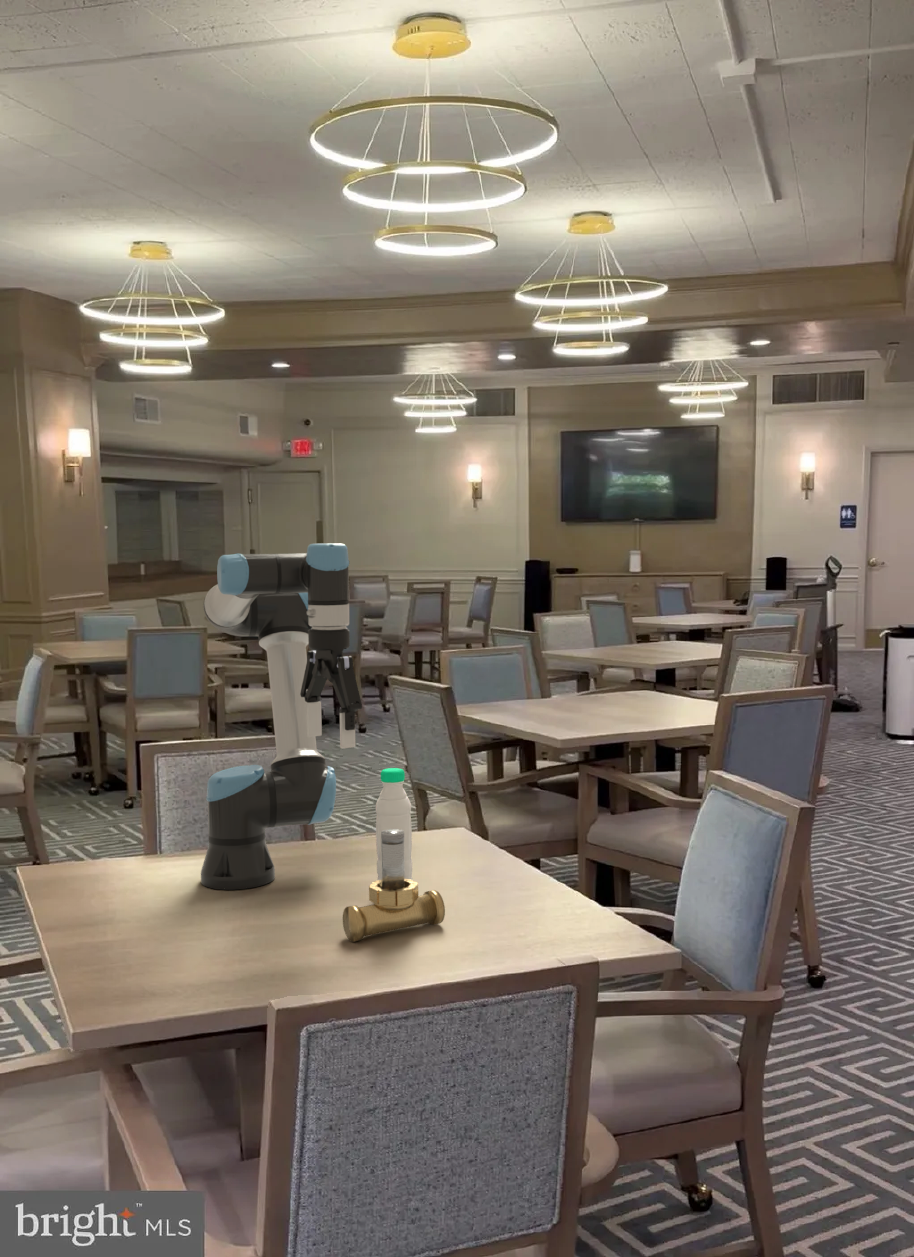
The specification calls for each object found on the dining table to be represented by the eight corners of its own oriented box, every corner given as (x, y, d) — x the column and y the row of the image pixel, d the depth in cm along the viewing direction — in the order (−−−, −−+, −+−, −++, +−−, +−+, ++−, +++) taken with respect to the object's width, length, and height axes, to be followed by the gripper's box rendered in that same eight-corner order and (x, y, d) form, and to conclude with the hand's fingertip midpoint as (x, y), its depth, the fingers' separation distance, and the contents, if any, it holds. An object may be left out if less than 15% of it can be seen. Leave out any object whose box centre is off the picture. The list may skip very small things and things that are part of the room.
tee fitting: (361, 947, 194) (360, 898, 193) (340, 934, 201) (339, 887, 200) (448, 929, 203) (447, 882, 202) (425, 917, 210) (424, 871, 209)
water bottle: (408, 900, 220) (405, 773, 219) (373, 899, 222) (370, 772, 220) (416, 890, 227) (414, 766, 226) (382, 888, 229) (379, 765, 227)
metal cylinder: (377, 897, 202) (376, 831, 201) (398, 894, 204) (397, 828, 204) (389, 903, 199) (388, 835, 198) (409, 899, 201) (408, 832, 200)
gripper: (281, 623, 217) (283, 733, 219) (341, 633, 196) (343, 755, 198) (317, 621, 221) (319, 729, 223) (380, 631, 200) (381, 750, 202)
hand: (330, 741), depth 210 cm, fingers open, 13 cm apart
